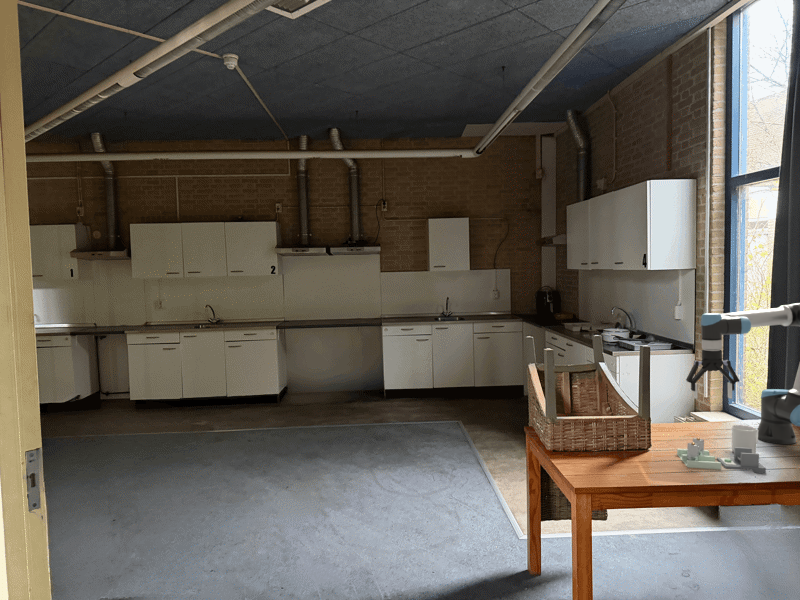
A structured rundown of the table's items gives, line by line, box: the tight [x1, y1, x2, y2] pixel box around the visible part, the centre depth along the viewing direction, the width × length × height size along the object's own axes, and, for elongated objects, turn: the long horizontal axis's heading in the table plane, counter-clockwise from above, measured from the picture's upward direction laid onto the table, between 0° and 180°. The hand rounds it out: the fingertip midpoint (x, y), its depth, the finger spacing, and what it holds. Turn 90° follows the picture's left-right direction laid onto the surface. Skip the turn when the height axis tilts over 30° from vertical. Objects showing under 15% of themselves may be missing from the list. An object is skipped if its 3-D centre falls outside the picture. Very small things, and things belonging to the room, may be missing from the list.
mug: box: [731, 424, 759, 453], centre depth 231 cm, size 12×9×11 cm
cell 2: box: [692, 437, 705, 455], centre depth 222 cm, size 4×4×9 cm
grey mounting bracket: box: [716, 447, 767, 474], centre depth 215 cm, size 14×10×7 cm
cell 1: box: [686, 441, 699, 461], centre depth 217 cm, size 4×4×9 cm
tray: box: [676, 448, 722, 470], centre depth 219 cm, size 12×15×4 cm
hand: (712, 398), depth 233 cm, fingers open, 13 cm apart
